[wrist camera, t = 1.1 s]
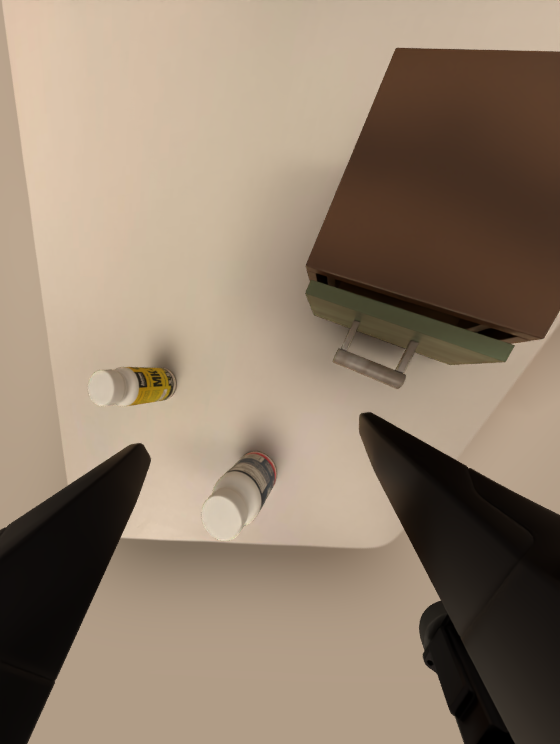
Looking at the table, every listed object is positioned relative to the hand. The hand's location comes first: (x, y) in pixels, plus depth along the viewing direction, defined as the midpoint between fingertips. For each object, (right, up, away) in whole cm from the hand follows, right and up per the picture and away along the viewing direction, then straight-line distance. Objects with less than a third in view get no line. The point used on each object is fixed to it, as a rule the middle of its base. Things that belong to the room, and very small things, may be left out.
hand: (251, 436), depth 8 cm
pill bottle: (-2, -10, +18) cm, 21 cm away
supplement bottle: (-16, +1, +22) cm, 27 cm away
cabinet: (+15, +15, +13) cm, 25 cm away
